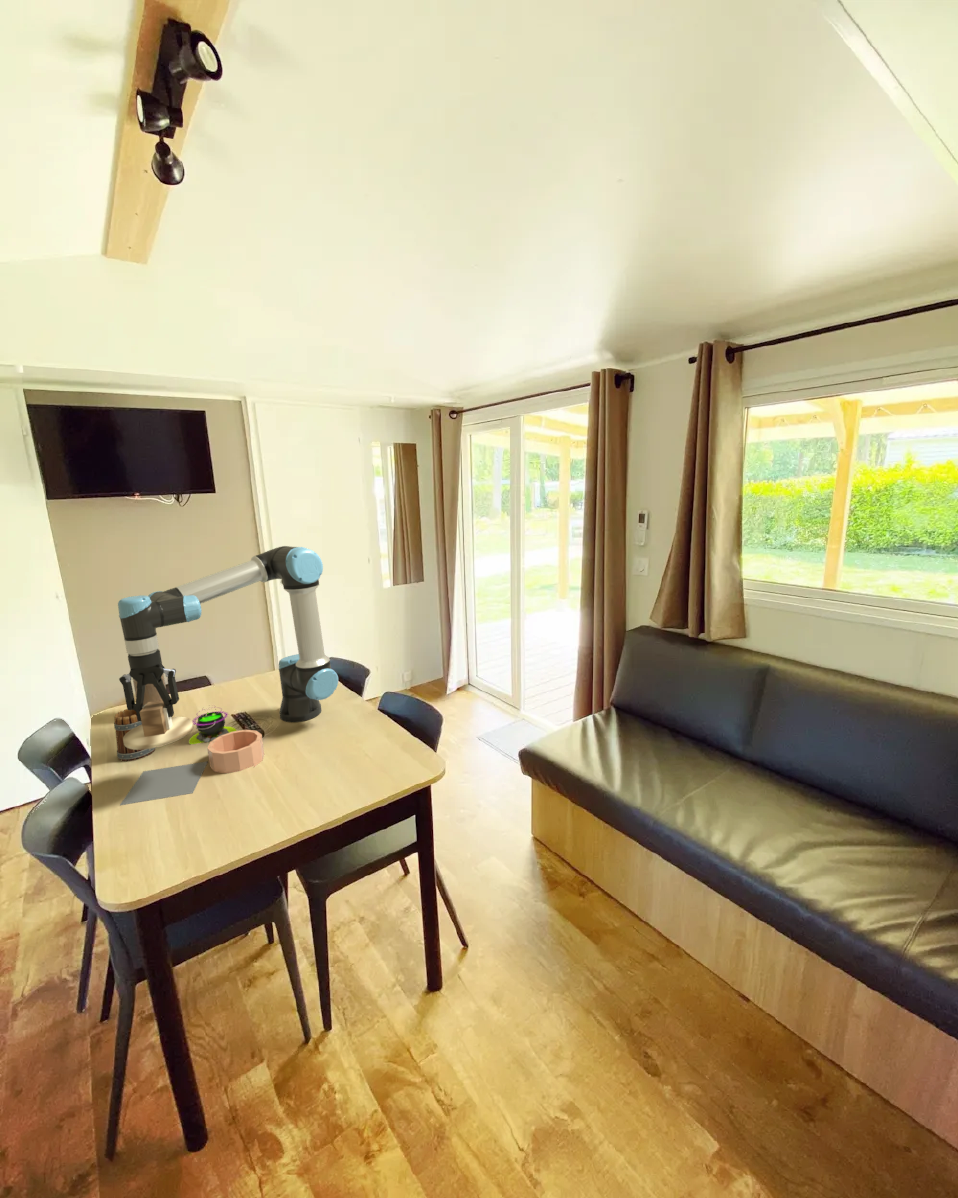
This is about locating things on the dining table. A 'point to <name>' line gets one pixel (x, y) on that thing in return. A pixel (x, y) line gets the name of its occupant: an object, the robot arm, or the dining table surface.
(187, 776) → the mat
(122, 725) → the mug
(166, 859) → the dining table surface
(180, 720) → the lid
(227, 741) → the bowl
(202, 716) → the toy cauldron
